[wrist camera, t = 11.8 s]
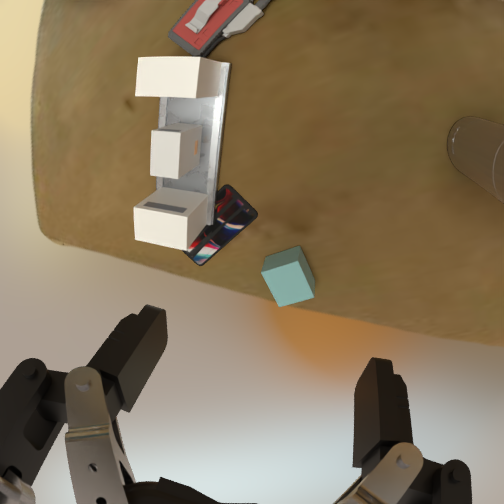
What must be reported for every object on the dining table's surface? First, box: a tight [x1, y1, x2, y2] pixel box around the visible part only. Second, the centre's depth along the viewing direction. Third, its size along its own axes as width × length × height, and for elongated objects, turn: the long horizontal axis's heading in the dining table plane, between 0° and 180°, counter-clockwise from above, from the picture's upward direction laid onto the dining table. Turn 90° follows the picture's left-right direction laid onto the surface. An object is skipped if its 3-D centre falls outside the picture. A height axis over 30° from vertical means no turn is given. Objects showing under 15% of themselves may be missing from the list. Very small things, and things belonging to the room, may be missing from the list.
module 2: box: [134, 187, 208, 251], centre depth 45 cm, size 8×5×9 cm, turn 83°
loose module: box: [150, 123, 202, 179], centre depth 41 cm, size 4×6×8 cm
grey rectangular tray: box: [156, 62, 232, 225], centre depth 45 cm, size 10×25×2 cm, turn 173°
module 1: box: [135, 57, 222, 98], centre depth 35 cm, size 8×5×9 cm, turn 83°
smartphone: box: [182, 185, 258, 266], centre depth 52 cm, size 7×1×15 cm
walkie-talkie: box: [168, 0, 271, 58], centre depth 32 cm, size 9×4×20 cm
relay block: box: [261, 246, 315, 307], centre depth 51 cm, size 5×6×7 cm
